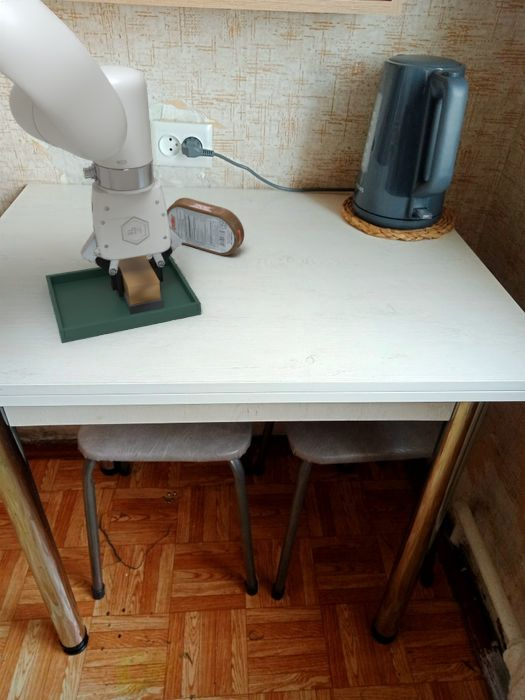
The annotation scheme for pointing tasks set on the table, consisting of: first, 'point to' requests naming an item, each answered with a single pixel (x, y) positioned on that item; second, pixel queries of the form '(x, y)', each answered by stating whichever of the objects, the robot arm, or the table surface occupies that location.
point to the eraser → (140, 285)
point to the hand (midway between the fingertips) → (138, 288)
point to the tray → (113, 302)
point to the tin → (206, 226)
